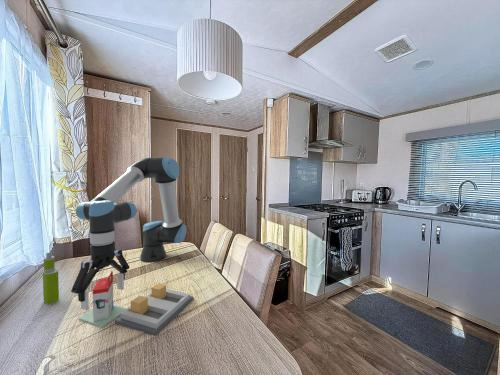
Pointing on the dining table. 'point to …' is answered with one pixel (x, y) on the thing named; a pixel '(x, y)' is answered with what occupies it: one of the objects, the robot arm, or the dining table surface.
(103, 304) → the ink box
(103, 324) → the rest pad
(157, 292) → the tan block
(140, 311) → the light orange block
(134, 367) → the dining table surface
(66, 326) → the dining table surface
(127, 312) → the grey divided tray
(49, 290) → the vape
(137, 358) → the dining table surface
